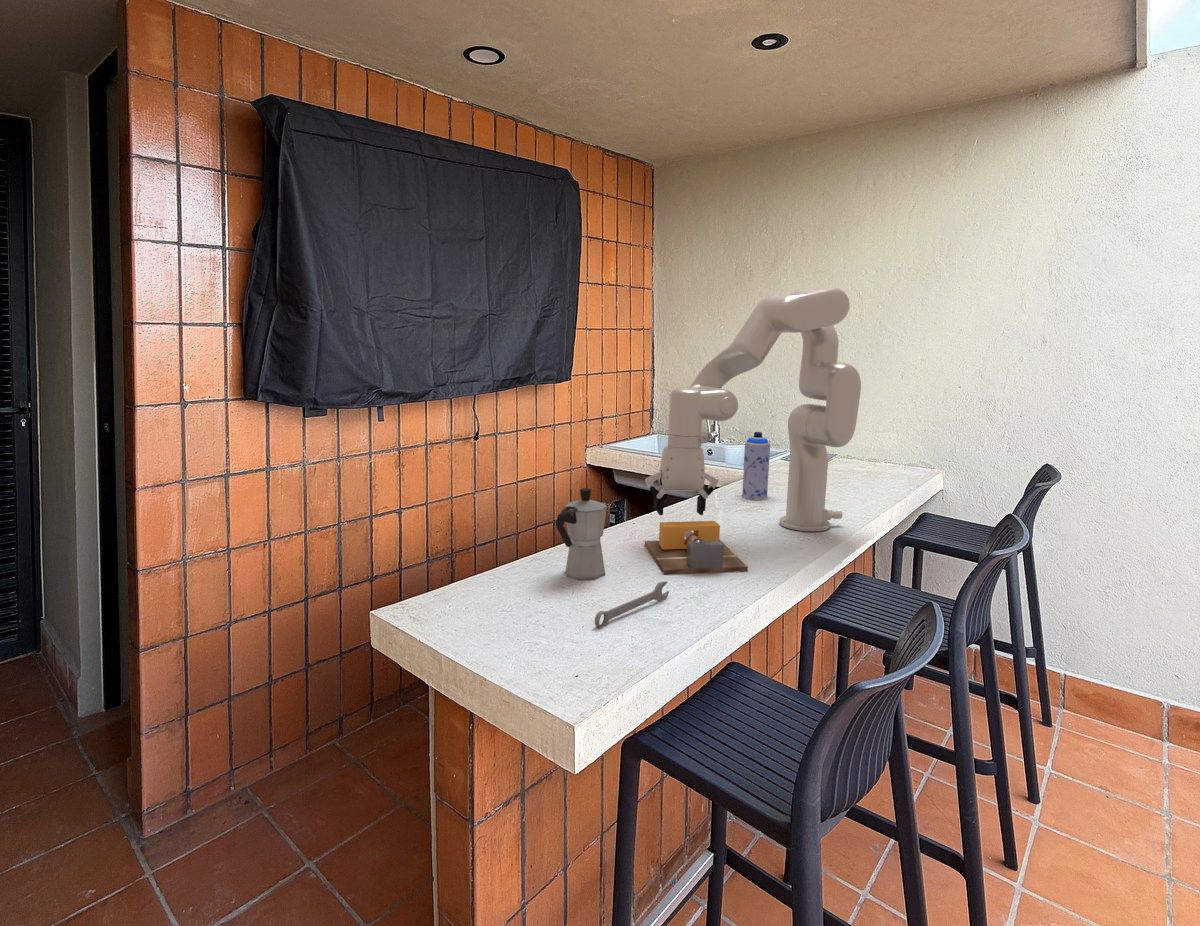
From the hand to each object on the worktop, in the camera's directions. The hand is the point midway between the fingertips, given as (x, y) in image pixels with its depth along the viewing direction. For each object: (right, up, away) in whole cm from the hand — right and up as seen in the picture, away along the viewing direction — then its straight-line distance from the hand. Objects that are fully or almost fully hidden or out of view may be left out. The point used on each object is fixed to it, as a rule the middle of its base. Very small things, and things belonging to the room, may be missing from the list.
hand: (679, 513), depth 164 cm
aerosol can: (+28, +1, +48) cm, 56 cm away
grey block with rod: (+2, -8, -9) cm, 12 cm away
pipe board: (+2, -9, -9) cm, 13 cm away
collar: (+1, -7, -5) cm, 9 cm away
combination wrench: (-13, -15, -39) cm, 43 cm away
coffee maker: (-23, -11, -20) cm, 32 cm away
